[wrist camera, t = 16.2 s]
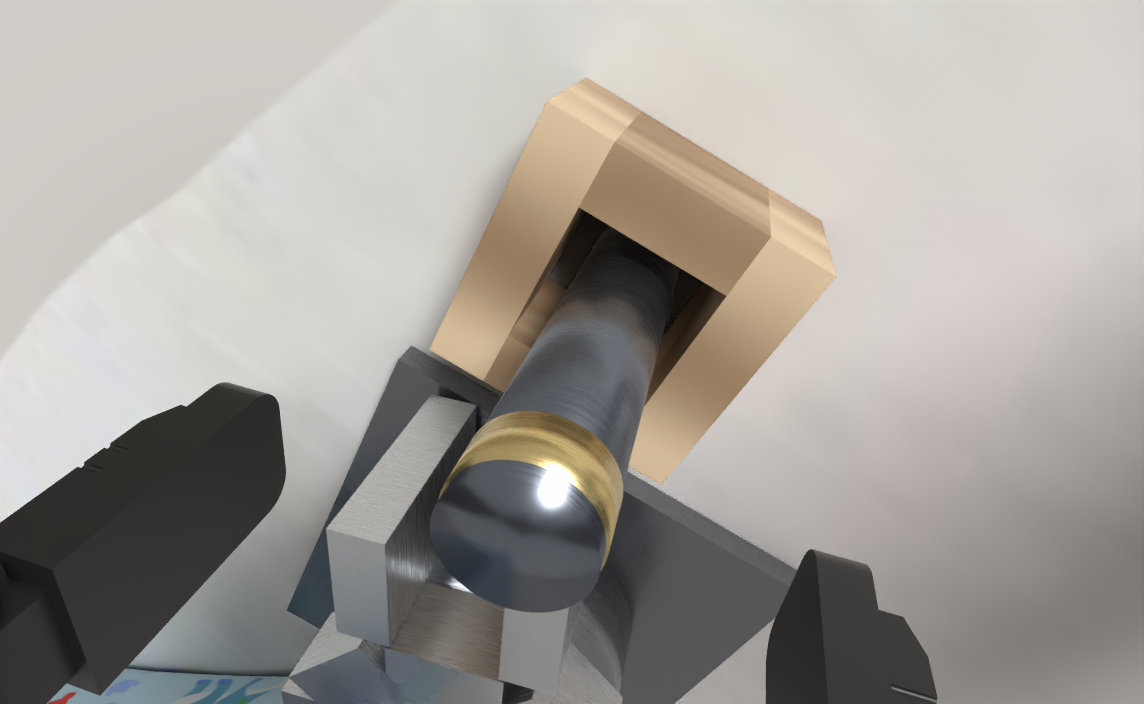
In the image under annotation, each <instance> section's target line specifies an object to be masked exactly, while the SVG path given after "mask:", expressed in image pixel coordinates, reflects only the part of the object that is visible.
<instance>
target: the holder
mask: <svg viewBox="0 0 1144 704" xmlns="http://www.w3.org/2000/svg"><path fill="white" fill-rule="evenodd" d="M585 211H586V212H588V213H589V214H591V215H592V216H594V217H596V218H597V219H599V220H601V221H602V222H604V223H606V224H607V225H609V226H611V227H612V228H614V229H616V230H617V231H619V232H621V233H622V234H624V235H626V236H627V237H629V238H631V239H632V240H634V241H636V242H637V243H639V244H641V245H642V246H644V247H646V248H647V249H649V250H651V251H652V252H654V253H656V254H657V255H659V256H661V257H662V258H664V259H666V260H667V261H669V262H671V263H672V264H674V265H676V266H677V267H679V268H681V269H682V270H684V271H686V272H687V273H689V274H691V275H692V276H694V277H696V278H697V279H699V280H701V281H702V283H701V284H700V286H699V287H698V288H697V290H696V291H695V293H694V294H693V295H692V297H691V298H690V300H689V301H688V302H687V304H686V305H685V307H684V308H683V309H682V311H681V312H680V314H679V315H678V316H677V318H676V319H675V321H674V322H673V323H672V325H671V326H670V328H669V329H668V330H667V332H666V333H665V335H664V336H663V337H662V340H661V344H660V348H659V352H658V356H657V359H656V363H655V367H654V371H653V375H652V378H651V382H650V386H649V390H648V393H647V397H646V401H645V405H644V409H643V412H642V416H641V420H640V424H639V427H638V431H637V435H636V439H635V443H634V446H633V450H632V454H631V458H630V461H629V465H628V466H630V467H631V468H633V469H635V470H636V471H638V472H640V473H642V474H643V475H645V476H647V477H648V478H650V479H652V480H654V481H655V482H657V483H659V484H660V485H662V484H663V482H664V481H665V480H666V479H667V478H668V476H669V475H670V474H671V473H672V472H673V470H674V469H675V468H676V467H677V466H678V465H679V463H680V462H681V461H682V460H683V459H684V457H685V456H686V455H687V454H688V453H689V451H690V450H691V449H692V448H693V447H694V445H695V444H696V443H697V442H698V441H699V440H700V438H701V437H702V436H703V435H704V434H705V432H706V431H707V430H708V429H709V428H710V426H711V425H712V424H713V423H714V422H715V420H716V419H717V418H718V417H719V416H720V415H721V413H722V412H723V411H724V410H725V409H726V407H727V406H728V405H729V404H730V403H731V401H732V400H733V399H734V398H735V397H736V396H737V394H738V393H739V392H740V391H741V390H742V388H743V387H744V386H745V385H746V384H747V382H748V381H749V380H750V379H751V378H752V376H753V375H754V374H755V373H756V372H757V371H758V369H759V368H760V367H761V366H762V365H763V363H764V362H765V361H766V360H767V359H768V357H769V356H770V355H771V354H772V353H773V351H774V350H775V349H776V348H777V347H778V346H779V344H780V343H781V342H782V341H783V340H784V338H785V337H786V336H787V335H788V334H789V332H790V331H791V330H792V329H793V328H794V327H795V325H796V324H797V323H798V322H799V321H800V319H801V318H802V317H803V316H804V315H805V313H806V312H807V311H808V310H809V309H810V307H811V306H812V305H813V304H814V303H815V302H816V300H817V299H818V298H819V297H820V296H821V294H822V293H823V292H824V291H825V290H826V288H827V287H828V286H829V285H830V284H831V282H832V281H833V280H834V279H835V278H836V277H837V276H836V273H835V269H834V265H833V261H832V258H831V254H830V250H829V247H828V243H827V239H826V236H825V232H824V228H823V225H822V221H820V220H819V219H817V218H815V217H814V216H812V215H810V214H809V213H807V212H806V211H804V210H802V209H801V208H799V207H797V206H796V205H794V204H792V203H791V202H789V201H787V200H786V199H784V198H783V197H781V196H779V195H778V194H776V193H774V192H773V191H771V190H769V189H768V188H766V187H765V186H763V185H761V184H760V183H758V182H756V181H755V180H753V179H751V178H750V177H748V176H747V175H745V174H743V173H742V172H740V171H738V170H737V169H735V168H733V167H732V166H730V165H729V164H727V163H725V162H724V161H722V160H720V159H719V158H717V157H715V156H714V155H712V154H711V153H709V152H707V151H706V150H704V149H702V148H701V147H699V146H697V145H696V144H694V143H693V142H691V141H689V140H688V139H686V138H684V137H683V136H681V135H679V134H678V133H676V132H675V131H673V130H671V129H670V128H668V127H666V126H665V125H663V124H661V123H660V122H658V121H657V120H655V119H653V118H652V117H650V116H648V115H647V114H645V113H643V112H642V111H640V110H639V109H637V108H635V107H634V106H632V105H630V104H629V103H627V102H625V101H624V100H622V99H621V98H619V97H617V96H616V95H614V94H612V93H611V92H609V91H607V90H606V89H604V88H603V87H601V86H599V85H598V84H596V83H594V82H593V81H591V80H589V79H588V78H585V79H584V80H582V81H580V82H578V83H577V84H575V85H573V86H571V87H570V88H568V89H566V90H564V91H563V92H561V93H559V94H558V95H556V96H554V97H552V98H551V99H549V100H547V102H546V104H545V106H544V108H543V110H542V112H541V114H540V116H539V118H538V121H537V123H536V125H535V127H534V129H533V131H532V133H531V135H530V137H529V140H528V142H527V144H526V146H525V148H524V150H523V152H522V154H521V156H520V159H519V161H518V163H517V165H516V167H515V169H514V171H513V173H512V176H511V178H510V180H509V182H508V184H507V186H506V188H505V190H504V192H503V195H502V197H501V199H500V201H499V203H498V205H497V207H496V209H495V211H494V214H493V216H492V218H491V220H490V222H489V224H488V226H487V228H486V230H485V233H484V235H483V237H482V239H481V241H480V243H479V245H478V247H477V249H476V252H475V254H474V256H473V258H472V260H471V262H470V264H469V266H468V268H467V271H466V273H465V275H464V277H463V279H462V281H461V283H460V285H459V288H458V290H457V292H456V294H455V296H454V298H453V300H452V302H451V304H450V307H449V309H448V311H447V313H446V315H445V317H444V319H443V321H442V323H441V326H440V328H439V330H438V332H437V334H436V336H435V338H434V340H433V342H432V345H431V347H430V349H429V350H431V351H432V352H434V353H436V354H437V355H439V356H441V357H443V358H444V359H446V360H448V361H449V362H451V363H453V364H455V365H456V366H458V367H460V368H461V369H463V370H465V371H467V372H468V373H470V374H472V375H473V376H475V377H477V378H479V379H480V380H482V381H484V382H485V383H487V384H489V385H491V386H492V387H494V388H496V389H497V390H499V391H501V392H503V393H504V392H505V390H506V389H507V387H508V385H509V384H510V382H511V381H512V379H513V377H514V376H515V374H516V372H517V371H518V369H519V368H520V366H521V364H522V363H523V361H524V359H525V358H526V356H527V354H528V353H529V351H530V350H531V348H532V346H533V345H534V343H535V341H536V340H537V338H538V337H539V335H540V333H541V332H542V330H543V328H544V327H545V325H546V324H547V322H548V320H549V319H550V317H551V315H552V314H553V312H554V310H555V309H556V307H557V306H558V304H559V302H560V301H561V299H562V297H563V296H564V294H565V293H566V291H567V289H566V288H565V287H563V286H561V285H560V284H558V283H556V282H555V281H553V280H551V279H550V278H549V276H550V274H551V272H552V271H553V269H554V267H555V265H556V263H557V262H558V260H559V258H560V256H561V254H562V253H563V251H564V249H565V247H566V245H567V244H568V242H569V240H570V238H571V237H572V235H573V233H574V231H575V229H576V228H577V226H578V224H579V222H580V220H581V219H582V217H583V215H584V213H585Z"/></svg>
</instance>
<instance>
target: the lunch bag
mask: <svg viewBox="0 0 1144 704" xmlns="http://www.w3.org/2000/svg"><path fill="white" fill-rule="evenodd" d="M288 680H289V678H288V677H276V676H270V677H265V676H232V675H209V674H190V673H171V672H154V671H145V670H137V669H127V668H125V669H124V671H123V672H122V673H121V674H120V675H119V676H118V677H117V678H116V679H115V680H114V681H113V682H112V684H111V685H110V686H109V687H108V688H107V689H106V690H105V691H104V692H103V693H102V694H101V696H99V695H97V694H94V693H91V692H88V691H86V690H83V689H80V688H77V687H75V686H72V685H69V684H66V685H65V686H64V687H63V688H62V689H61V690H60V691H59V692H58V693H57V694H56V695H55V696H54V697H53V698H52V699H51V700H50V701H49V702H48V704H283V699H282V693H281V690H282V688H283V687H284V685H285V684H286V682H287V681H288Z"/></svg>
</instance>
